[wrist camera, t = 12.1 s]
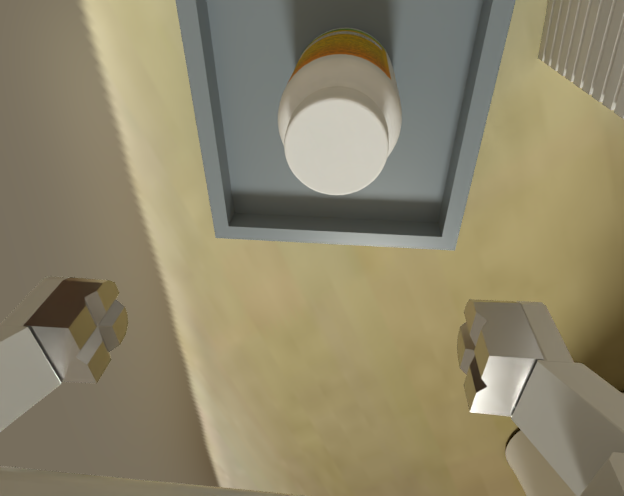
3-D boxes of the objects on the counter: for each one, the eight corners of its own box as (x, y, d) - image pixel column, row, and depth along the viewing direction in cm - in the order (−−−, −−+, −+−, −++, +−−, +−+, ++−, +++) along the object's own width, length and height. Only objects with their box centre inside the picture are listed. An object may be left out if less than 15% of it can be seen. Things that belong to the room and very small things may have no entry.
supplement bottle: (278, 57, 23) (236, 118, 16) (368, 5, 22) (372, 45, 14) (323, 141, 26) (307, 229, 18) (407, 101, 24) (429, 181, 16)
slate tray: (169, -156, 19) (147, -167, 17) (536, -165, 18) (558, -177, 16) (225, 218, 31) (215, 237, 29) (448, 229, 30) (454, 250, 28)
